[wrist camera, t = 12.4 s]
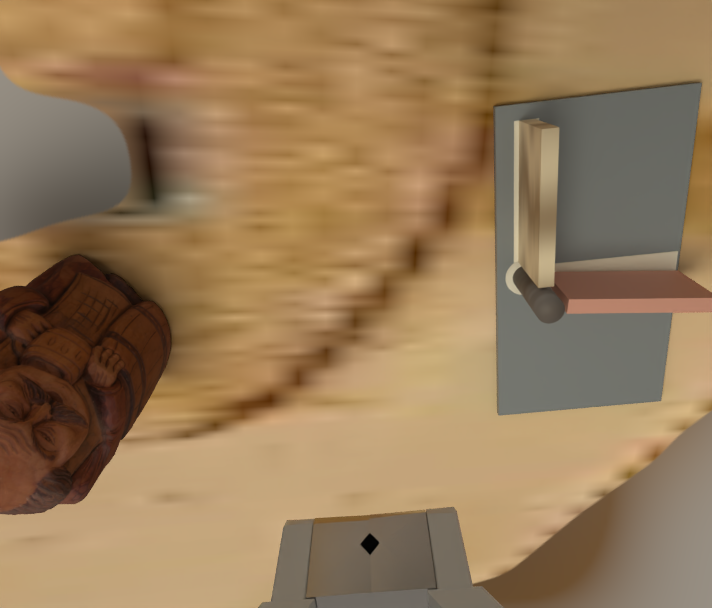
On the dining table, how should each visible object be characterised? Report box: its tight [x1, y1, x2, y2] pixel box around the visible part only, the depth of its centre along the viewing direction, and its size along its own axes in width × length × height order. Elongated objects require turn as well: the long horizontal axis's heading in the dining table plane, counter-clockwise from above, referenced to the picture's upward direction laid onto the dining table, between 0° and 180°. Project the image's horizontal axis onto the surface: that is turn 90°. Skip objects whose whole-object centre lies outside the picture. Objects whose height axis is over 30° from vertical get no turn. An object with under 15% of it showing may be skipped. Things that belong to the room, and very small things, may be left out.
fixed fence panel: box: [513, 119, 565, 324], centre depth 36 cm, size 12×2×6 cm, turn 6°
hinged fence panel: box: [551, 270, 712, 314], centre depth 38 cm, size 10×1×5 cm, turn 91°
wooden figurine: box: [0, 255, 171, 515], centre depth 34 cm, size 12×6×18 cm, turn 45°
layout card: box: [494, 83, 702, 415], centre depth 40 cm, size 24×13×1 cm, turn 6°
